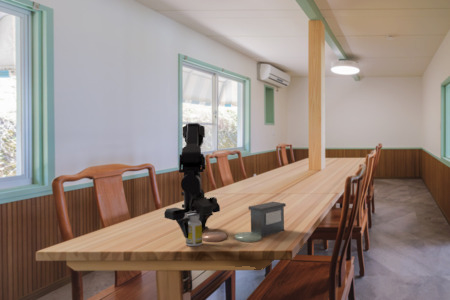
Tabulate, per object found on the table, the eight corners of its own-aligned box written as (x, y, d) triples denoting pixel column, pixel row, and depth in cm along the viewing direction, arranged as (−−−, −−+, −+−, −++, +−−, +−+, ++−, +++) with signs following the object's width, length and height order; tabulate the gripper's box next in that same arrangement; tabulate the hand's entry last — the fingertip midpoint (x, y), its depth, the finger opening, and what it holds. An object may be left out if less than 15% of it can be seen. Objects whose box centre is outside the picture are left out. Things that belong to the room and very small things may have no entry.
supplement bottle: (202, 241, 125) (201, 212, 125) (202, 246, 119) (201, 215, 119) (186, 242, 125) (185, 213, 124) (185, 246, 119) (184, 216, 119)
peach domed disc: (195, 238, 129) (195, 235, 129) (215, 233, 135) (214, 230, 135) (211, 243, 122) (211, 240, 122) (231, 237, 128) (231, 235, 128)
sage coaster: (229, 238, 128) (229, 235, 128) (248, 233, 134) (248, 230, 134) (248, 243, 121) (248, 240, 121) (266, 238, 127) (266, 235, 127)
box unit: (249, 234, 132) (248, 206, 131) (273, 228, 140) (273, 201, 140) (261, 237, 127) (260, 208, 127) (286, 230, 136) (285, 203, 135)
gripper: (183, 195, 109) (184, 247, 110) (230, 188, 121) (231, 235, 122) (162, 191, 118) (164, 240, 118) (208, 185, 130) (210, 229, 130)
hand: (193, 236), depth 122 cm, fingers closed on supplement bottle, 5 cm apart
